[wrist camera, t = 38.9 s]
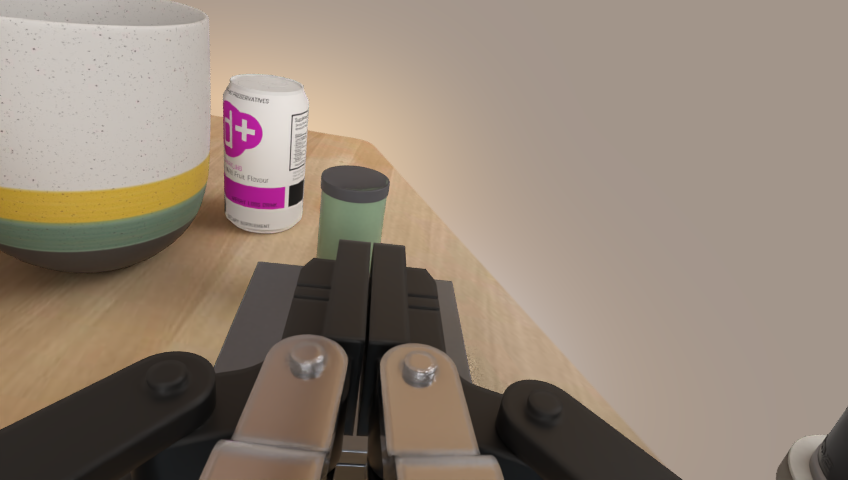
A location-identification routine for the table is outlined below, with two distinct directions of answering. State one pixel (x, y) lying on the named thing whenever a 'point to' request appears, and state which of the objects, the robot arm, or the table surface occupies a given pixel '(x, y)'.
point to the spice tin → (351, 207)
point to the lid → (267, 319)
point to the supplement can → (264, 152)
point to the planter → (101, 129)
